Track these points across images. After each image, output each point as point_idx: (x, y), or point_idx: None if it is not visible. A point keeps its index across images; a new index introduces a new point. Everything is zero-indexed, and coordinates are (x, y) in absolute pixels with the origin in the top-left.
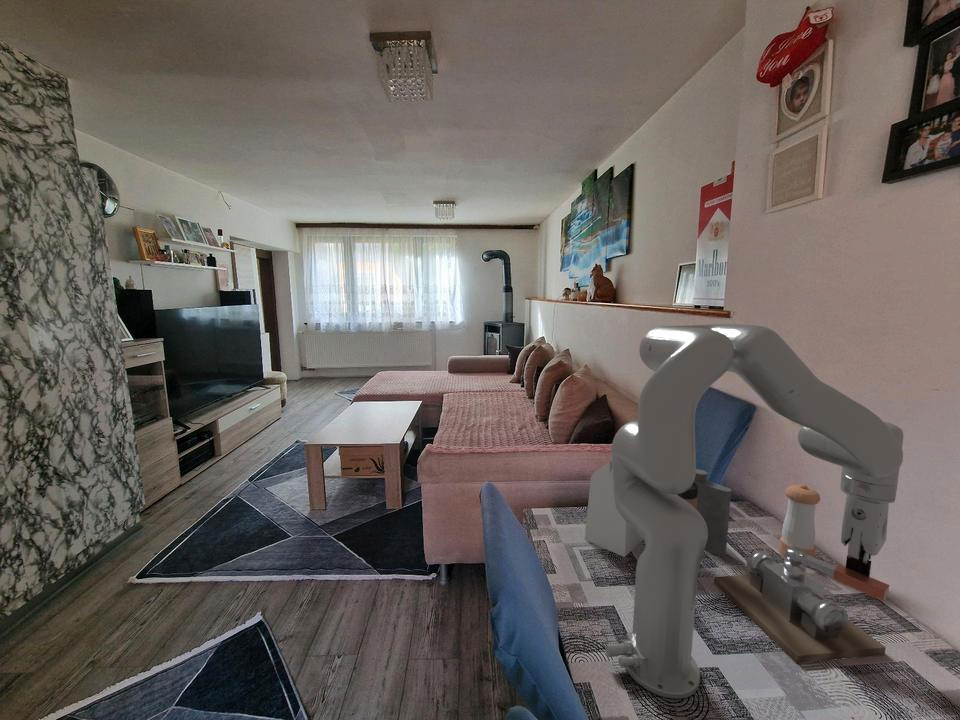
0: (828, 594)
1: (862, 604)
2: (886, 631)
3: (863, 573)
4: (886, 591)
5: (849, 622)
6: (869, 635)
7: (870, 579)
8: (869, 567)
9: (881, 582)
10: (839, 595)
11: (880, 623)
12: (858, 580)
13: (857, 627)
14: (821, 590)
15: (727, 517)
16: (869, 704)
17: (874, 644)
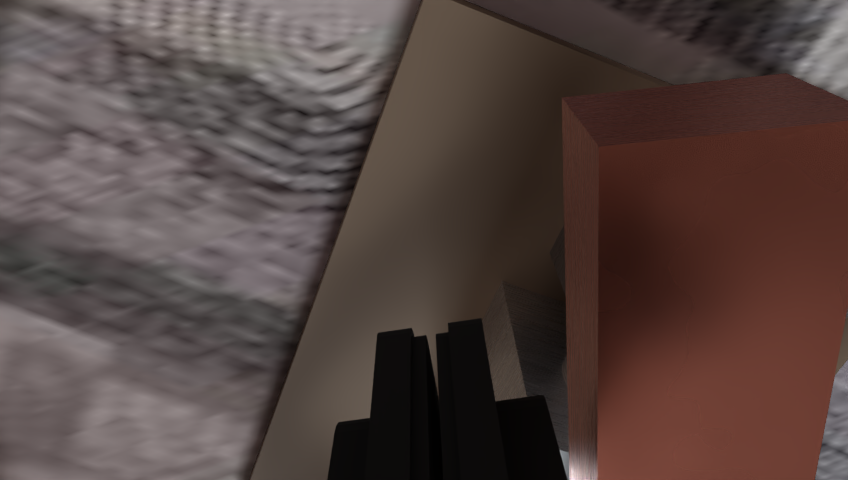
0: (145, 351)
1: (37, 231)
2: (169, 63)
3: (502, 421)
4: (724, 113)
5: (374, 194)
6: (394, 87)
7: (672, 333)
8: (468, 467)
9: (624, 232)
10: (89, 322)
11: (122, 111)
12: (825, 392)
13: (377, 153)
14: (551, 415)
15: None
16: None
17: (462, 37)
